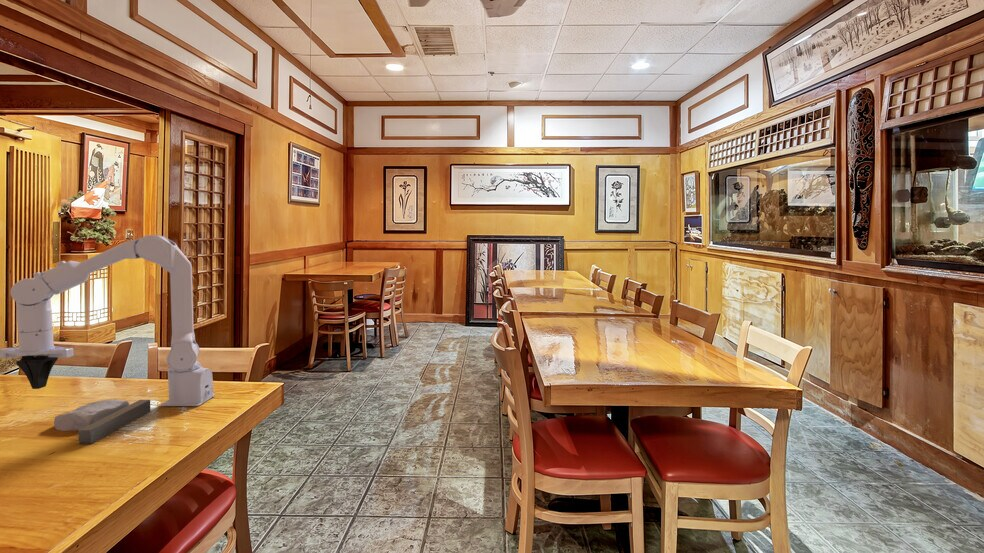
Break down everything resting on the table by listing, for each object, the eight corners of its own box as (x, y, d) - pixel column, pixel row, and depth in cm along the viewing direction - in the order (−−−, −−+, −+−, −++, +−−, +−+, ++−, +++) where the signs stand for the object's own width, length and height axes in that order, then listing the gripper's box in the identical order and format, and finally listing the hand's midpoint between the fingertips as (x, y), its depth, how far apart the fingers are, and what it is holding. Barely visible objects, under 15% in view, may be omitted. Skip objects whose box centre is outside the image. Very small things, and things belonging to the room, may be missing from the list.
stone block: (49, 438, 101) (92, 431, 101) (44, 418, 101) (87, 410, 101) (96, 419, 113) (135, 412, 113) (92, 401, 113) (131, 394, 113)
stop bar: (150, 411, 113) (150, 399, 112) (91, 444, 95) (90, 430, 95) (140, 411, 113) (139, 399, 112) (79, 444, 95) (78, 430, 94)
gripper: (-17, 333, 100) (-12, 393, 101) (53, 333, 101) (56, 393, 102) (15, 327, 107) (19, 383, 108) (79, 327, 108) (82, 383, 109)
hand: (39, 387), depth 106 cm, fingers closed
